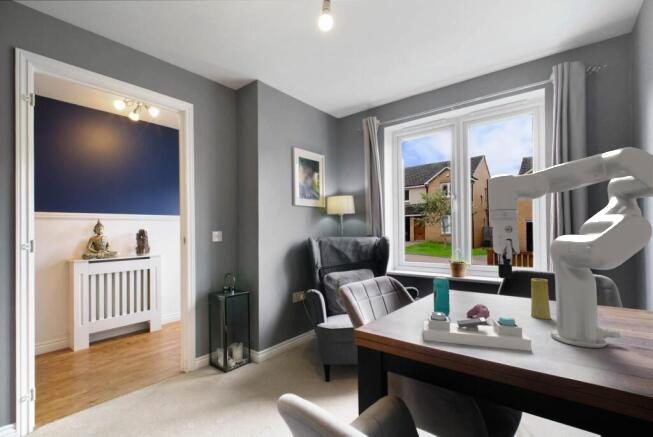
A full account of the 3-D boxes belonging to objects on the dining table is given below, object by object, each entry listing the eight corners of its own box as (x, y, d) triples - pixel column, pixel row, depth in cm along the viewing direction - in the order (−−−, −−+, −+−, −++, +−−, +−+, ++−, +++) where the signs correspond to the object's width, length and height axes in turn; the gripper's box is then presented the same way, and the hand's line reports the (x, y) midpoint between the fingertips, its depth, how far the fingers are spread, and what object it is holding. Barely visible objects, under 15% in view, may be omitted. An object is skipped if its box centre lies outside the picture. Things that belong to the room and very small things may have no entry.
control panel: (519, 338, 90) (518, 320, 91) (531, 350, 81) (530, 330, 81) (423, 329, 99) (423, 313, 99) (424, 340, 89) (423, 321, 89)
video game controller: (484, 329, 104) (494, 311, 104) (472, 322, 105) (481, 305, 105) (476, 320, 114) (484, 304, 113) (465, 314, 115) (473, 298, 114)
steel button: (444, 320, 94) (444, 312, 94) (446, 323, 90) (445, 315, 90) (431, 319, 95) (431, 311, 95) (432, 322, 92) (432, 314, 92)
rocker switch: (485, 320, 91) (484, 317, 91) (487, 324, 87) (486, 320, 87) (457, 324, 93) (456, 320, 93) (459, 327, 89) (458, 323, 90)
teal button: (512, 325, 88) (512, 317, 89) (516, 329, 85) (516, 321, 85) (497, 324, 90) (497, 316, 90) (501, 328, 86) (500, 319, 86)
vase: (531, 313, 117) (529, 277, 117) (550, 316, 113) (549, 279, 114) (530, 317, 112) (529, 279, 113) (551, 320, 108) (549, 281, 109)
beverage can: (432, 313, 118) (431, 276, 119) (447, 314, 117) (446, 276, 118) (435, 317, 112) (434, 278, 113) (451, 318, 112) (450, 278, 112)
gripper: (526, 214, 80) (528, 282, 80) (510, 217, 95) (512, 274, 94) (495, 215, 83) (497, 281, 82) (484, 217, 97) (485, 273, 96)
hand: (505, 277), depth 88 cm, fingers closed
